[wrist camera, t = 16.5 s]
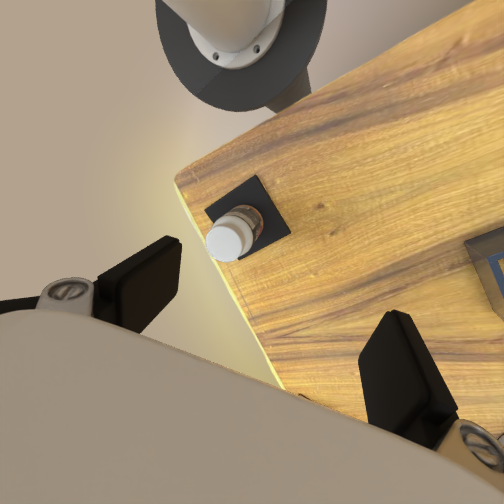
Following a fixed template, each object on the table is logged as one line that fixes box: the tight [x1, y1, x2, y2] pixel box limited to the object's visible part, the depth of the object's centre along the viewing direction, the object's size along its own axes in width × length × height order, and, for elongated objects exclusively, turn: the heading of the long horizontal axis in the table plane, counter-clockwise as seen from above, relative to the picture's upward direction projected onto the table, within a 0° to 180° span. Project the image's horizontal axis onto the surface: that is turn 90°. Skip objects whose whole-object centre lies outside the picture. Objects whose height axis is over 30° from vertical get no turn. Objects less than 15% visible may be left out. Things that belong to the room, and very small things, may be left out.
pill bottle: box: [206, 205, 263, 262], centre depth 33 cm, size 6×6×10 cm
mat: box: [205, 175, 291, 260], centre depth 38 cm, size 10×10×1 cm
